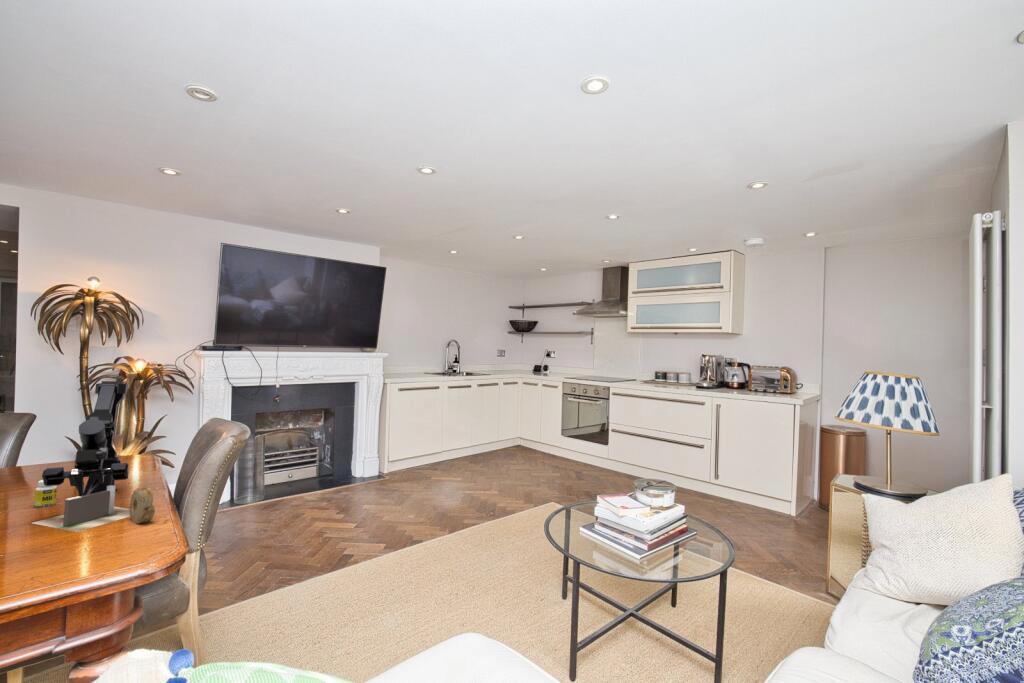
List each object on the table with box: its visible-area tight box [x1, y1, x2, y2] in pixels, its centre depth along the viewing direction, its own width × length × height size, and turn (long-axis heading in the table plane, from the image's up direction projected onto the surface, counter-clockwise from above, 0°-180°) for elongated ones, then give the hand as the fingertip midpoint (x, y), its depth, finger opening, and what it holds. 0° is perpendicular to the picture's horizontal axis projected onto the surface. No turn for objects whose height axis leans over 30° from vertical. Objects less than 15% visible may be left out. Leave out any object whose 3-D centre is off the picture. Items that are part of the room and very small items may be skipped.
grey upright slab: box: [63, 484, 117, 527], centre depth 132 cm, size 12×2×8 cm, turn 165°
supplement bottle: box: [33, 479, 58, 509], centre depth 142 cm, size 5×5×8 cm
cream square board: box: [32, 506, 131, 533], centre depth 135 cm, size 18×18×1 cm
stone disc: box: [128, 486, 156, 524], centre depth 134 cm, size 10×4×10 cm, turn 57°
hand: (82, 499), depth 131 cm, fingers closed
